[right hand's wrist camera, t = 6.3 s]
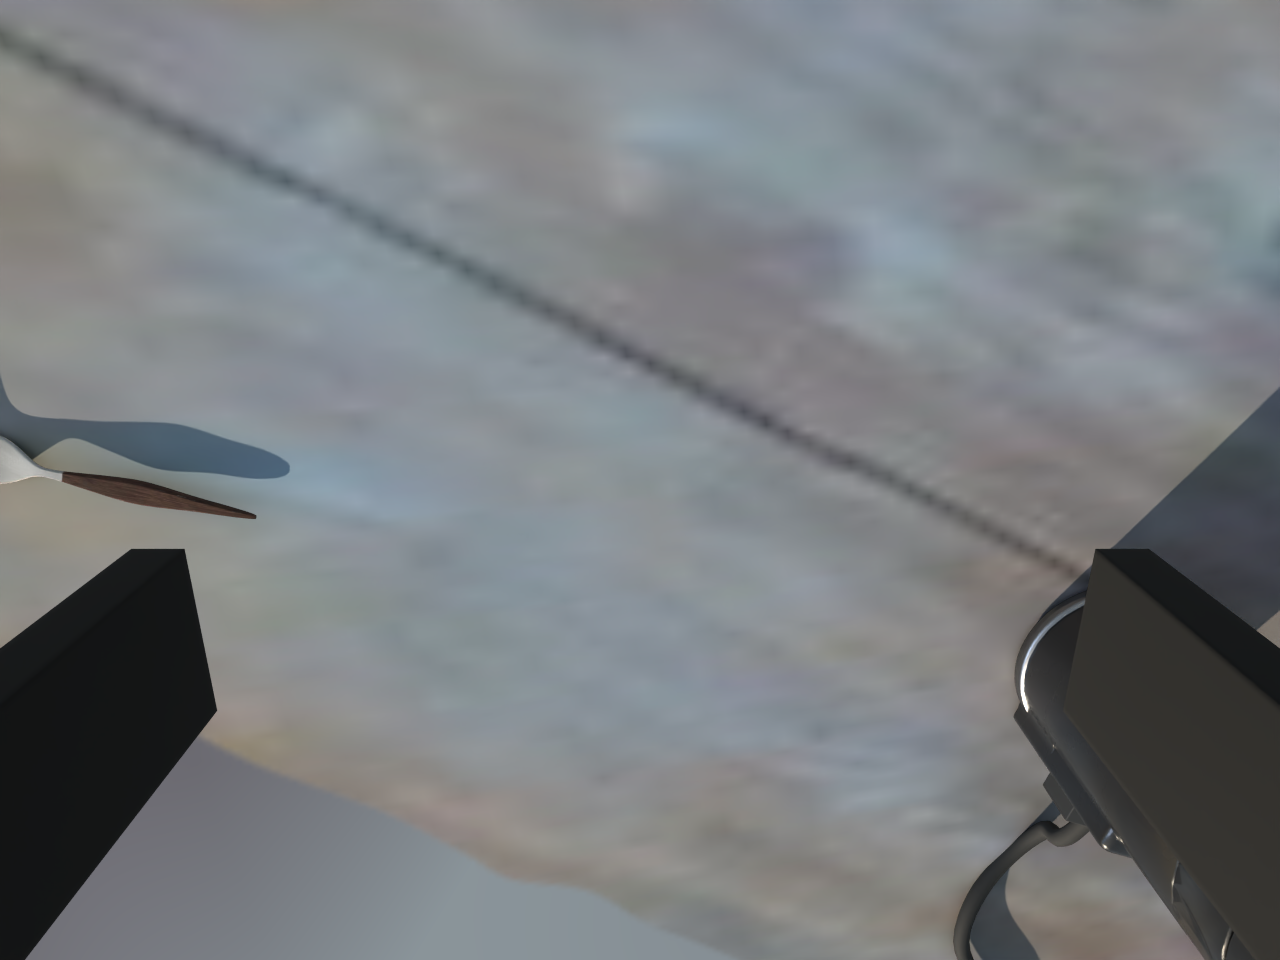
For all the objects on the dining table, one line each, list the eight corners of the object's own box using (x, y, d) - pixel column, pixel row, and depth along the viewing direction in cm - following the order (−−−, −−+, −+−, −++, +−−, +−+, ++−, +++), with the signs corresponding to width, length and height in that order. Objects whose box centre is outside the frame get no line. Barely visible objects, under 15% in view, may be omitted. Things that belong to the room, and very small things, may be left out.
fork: (258, 537, 42) (240, 554, 41) (-77, 467, 41) (-111, 481, 39) (262, 489, 42) (245, 504, 40) (-80, 416, 40) (-115, 428, 38)
